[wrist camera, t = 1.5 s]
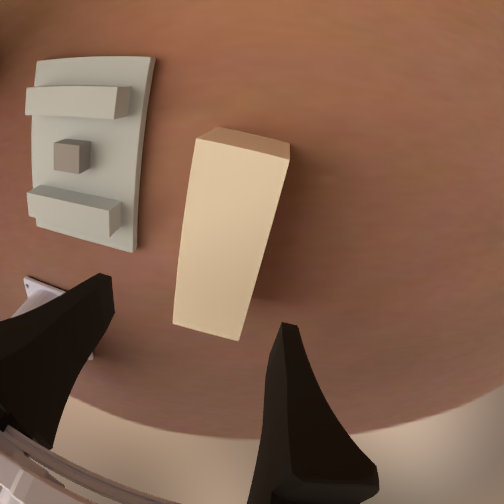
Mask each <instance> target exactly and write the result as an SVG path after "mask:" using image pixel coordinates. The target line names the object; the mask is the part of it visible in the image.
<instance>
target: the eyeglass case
mask: <svg viewBox="0 0 504 504" xmlns="http://www.w3.org/2000/svg"><path fill="white" fill-rule="evenodd" d="M289 161H290V143H287V142H283V141H279V140H275V139H271V138H267V137H263V136H259V135H254V134H250V133H246V132H241V131H237V130H232V129H227V128H223V127H216V128H214V129H213V130H211V131H209V132H207V133H205V134H203V135H202V136H200V137H198V138H196V143H195V148H194V154H193V160H192V166H191V172H190V179H189V185H188V192H187V198H186V205H185V213H184V220H183V227H182V235H181V243H180V252H179V261H178V270H177V280H176V290H175V301H174V312H173V324H176V325H179V326H183V327H186V328H190V329H194V330H197V331H201V332H205V333H208V334H212V335H216V336H220V337H224V338H228V339H232V340H236V341H239V338H240V335H241V331H242V328H243V324H244V321H245V317H246V314H247V310H248V307H249V304H250V300H251V297H252V293H253V290H254V286H255V283H256V279H257V276H258V272H259V269H260V265H261V262H262V258H263V255H264V251H265V248H266V244H267V240H268V237H269V233H270V230H271V226H272V223H273V219H274V215H275V212H276V208H277V205H278V201H279V198H280V194H281V190H282V187H283V183H284V179H285V176H286V172H287V169H288V165H289Z"/></svg>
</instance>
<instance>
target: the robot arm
mask: <svg viewBox="0 0 504 504" xmlns="http://www.w3.org/2000/svg"><path fill="white" fill-rule="evenodd" d="M24 284H25V288H26V292H27V295H28V299H27V300H26V301H25V302H24V303H23V305H22V306H21V307H20V308H19V309H18V310H17V311H16V312H15V313H14V315H13V316H12V317H11V318H9V319H6V320H4V321H0V485H1V486H2V487H3V488H2V491H1V493H0V504H97V503H95V502H92V501H89V500H88V499H86V498H84V497H82V496H80V495H77V494H76V493H74V492H71V491H69V490H67V489H65V486H64V484H62V483H61V482H59V481H58V480H56V479H55V478H54V477H53V476H51V475H50V474H49V473H48V471H47V470H45V469H44V468H42V467H41V466H39V465H38V464H36V463H35V462H33V461H32V460H31V459H30V458H32V459H33V460H35V461H36V462H38V463H40V464H41V465H43V466H45V467H47V468H48V469H50V470H52V471H54V472H55V473H57V474H59V475H61V476H63V477H65V478H67V479H69V480H71V481H72V482H75V483H76V484H78V485H81V486H83V487H85V488H87V489H89V490H91V491H93V492H96V493H98V494H100V495H103V496H105V497H107V498H110V499H112V500H114V501H117V502H119V503H122V504H180V503H176V502H173V501H169V500H166V499H163V498H159V497H156V496H153V495H150V494H147V493H144V492H141V491H138V490H135V489H132V488H130V487H127V486H125V485H122V484H119V483H117V482H114V481H112V480H110V479H107V478H105V477H102V476H100V475H98V474H96V473H93V472H91V471H89V470H87V469H85V468H83V467H80V466H78V465H76V464H74V463H72V462H70V461H68V460H66V459H65V458H63V457H61V456H59V455H57V454H55V453H53V452H51V451H50V449H52V448H53V443H54V439H55V435H56V432H57V428H58V425H59V422H60V419H61V416H62V413H63V410H64V407H65V404H66V402H67V399H68V397H69V394H70V392H71V390H72V387H73V385H74V383H75V381H76V379H77V377H78V375H79V373H80V371H81V369H82V368H83V366H84V364H85V363H86V361H87V360H93V358H94V356H93V350H94V349H95V347H96V346H97V344H98V343H99V341H100V339H101V338H102V336H103V335H104V333H105V332H106V330H107V328H108V326H109V324H110V322H111V319H112V317H113V315H114V313H115V309H114V300H113V289H112V277H111V276H108V275H104V274H101V273H98V274H97V275H95V276H93V277H91V278H89V279H88V280H86V281H84V282H82V283H81V284H79V285H77V286H76V287H74V288H72V289H70V290H69V291H67V292H65V291H63V290H60V289H57V288H55V287H52V286H50V285H47V284H44V283H42V282H39V281H37V280H34V279H32V278H30V277H27V276H26V277H25V278H24ZM29 457H30V458H29ZM378 491H379V477H378V472H377V467H376V465H375V464H374V463H373V462H372V461H371V460H370V459H369V458H368V457H367V456H366V455H365V454H364V453H363V452H362V451H361V450H360V449H359V447H358V446H357V445H356V444H355V443H354V441H353V440H352V439H351V438H350V436H349V435H348V433H347V432H346V431H345V429H344V428H343V426H342V425H341V424H340V422H339V421H338V419H337V418H336V416H335V415H334V413H333V411H332V410H331V408H330V406H329V404H328V403H327V401H326V399H325V397H324V395H323V393H322V391H321V389H320V387H319V385H318V383H317V380H316V378H315V376H314V373H313V371H312V368H311V366H310V363H309V361H308V358H307V355H306V352H305V349H304V346H303V343H302V339H301V336H300V332H299V328H298V326H297V325H293V324H288V323H284V322H282V323H281V326H280V328H279V331H278V334H277V336H276V339H275V342H274V344H273V347H272V350H271V352H270V355H269V360H268V366H267V372H266V379H265V395H264V412H263V426H262V434H261V440H260V445H259V451H258V456H257V461H256V466H255V471H254V476H253V480H252V485H251V489H250V493H249V497H248V501H247V504H360V503H361V502H363V501H365V500H367V499H369V498H371V497H373V496H374V495H375V494H377V493H378Z"/></svg>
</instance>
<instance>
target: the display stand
mask: <svg viewBox="0 0 504 504" xmlns="http://www.w3.org/2000/svg"><path fill="white" fill-rule="evenodd" d="M155 60H156V58H154V57H139V56H97V57H76V58H63V59H52V60H43V61H37V66H36V74H35V84H34V87H30V88H27V91H26V106H25V115H32V177H33V189H32V190H30V191H28V192H27V201H28V211H29V216H31V217H35V218H36V223H37V226H38V227H42V228H45V229H49V230H52V231H56V232H59V233H62V234H66V235H69V236H73V237H77V238H80V239H84V240H87V241H91V242H94V243H98V244H102V245H105V246H109V247H113V248H116V249H120V250H124V251H127V252H131V253H133V252H134V251H135V250H136V248H137V226H138V204H139V187H140V173H141V162H142V151H143V141H144V133H145V124H146V116H147V109H148V102H149V95H150V89H151V83H152V77H153V71H154V65H155Z"/></svg>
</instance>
